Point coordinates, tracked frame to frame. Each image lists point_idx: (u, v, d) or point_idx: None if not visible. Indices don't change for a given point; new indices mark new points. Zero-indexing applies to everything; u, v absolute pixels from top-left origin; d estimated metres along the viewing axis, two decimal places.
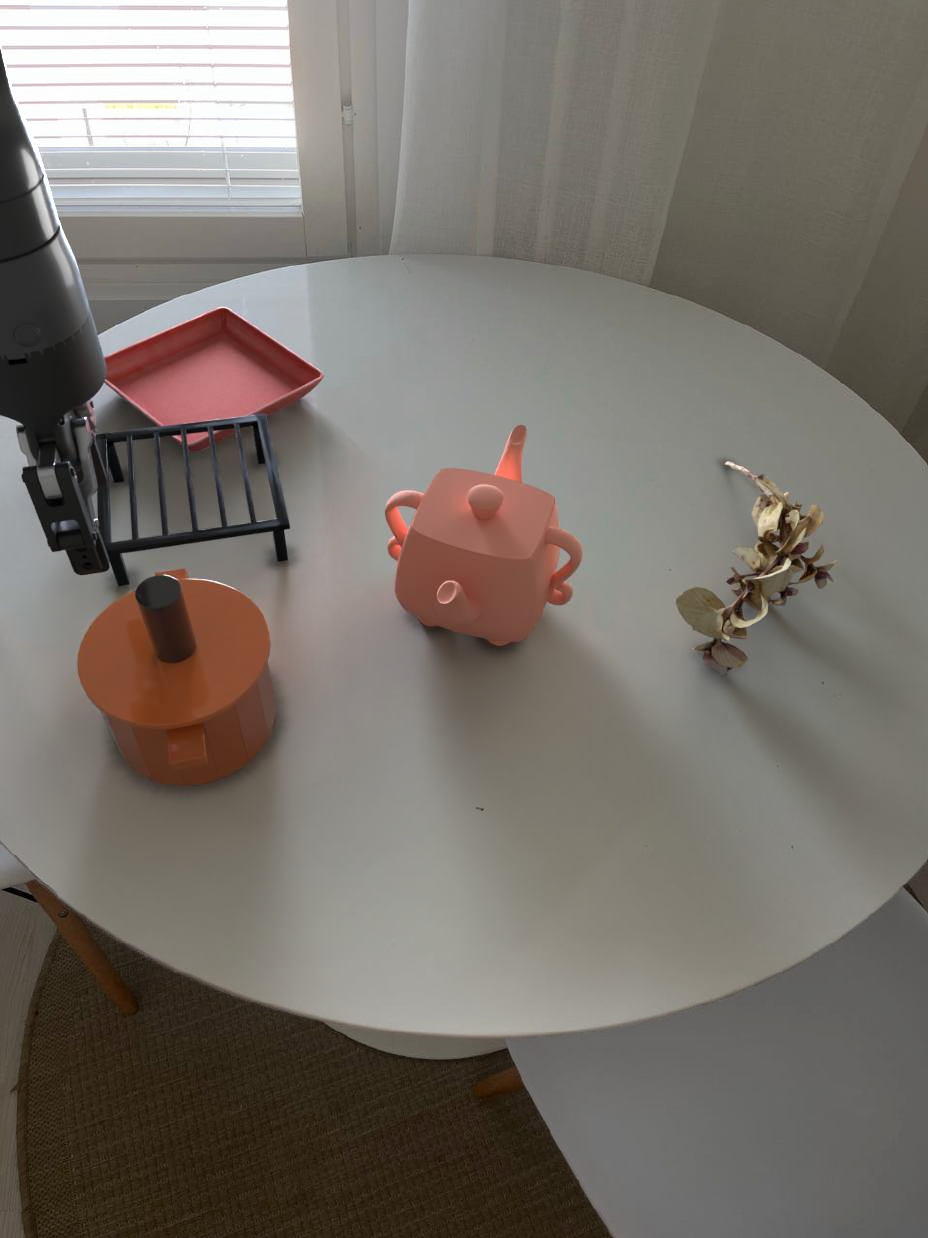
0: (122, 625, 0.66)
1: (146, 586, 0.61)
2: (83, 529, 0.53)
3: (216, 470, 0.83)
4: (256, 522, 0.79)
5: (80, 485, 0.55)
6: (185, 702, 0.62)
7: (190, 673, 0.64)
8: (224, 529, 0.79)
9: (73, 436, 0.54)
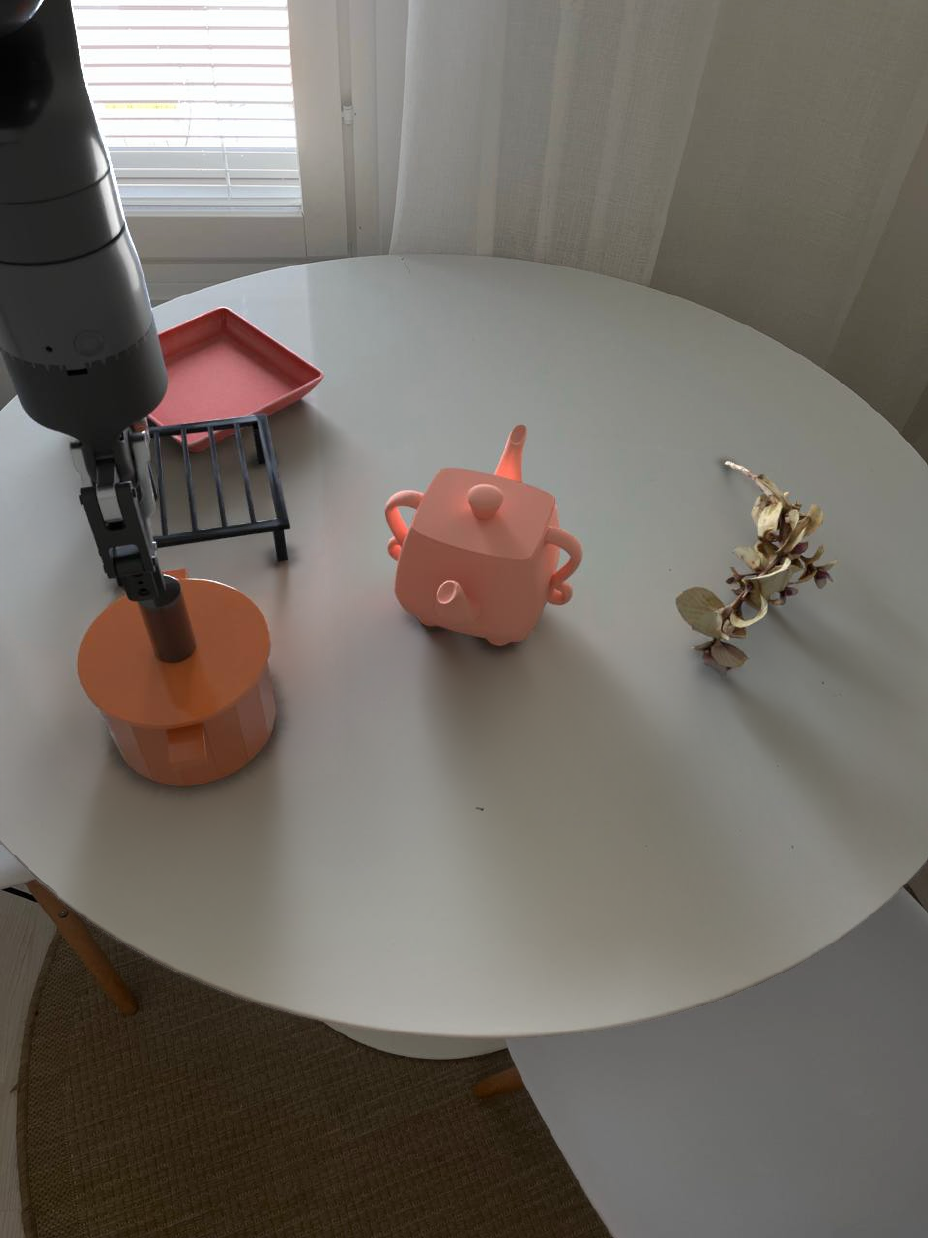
0: (122, 625, 0.66)
1: None
2: (144, 554, 0.48)
3: (216, 470, 0.83)
4: (256, 522, 0.79)
5: (138, 505, 0.50)
6: (185, 702, 0.62)
7: (190, 673, 0.64)
8: (224, 529, 0.79)
9: (131, 452, 0.49)
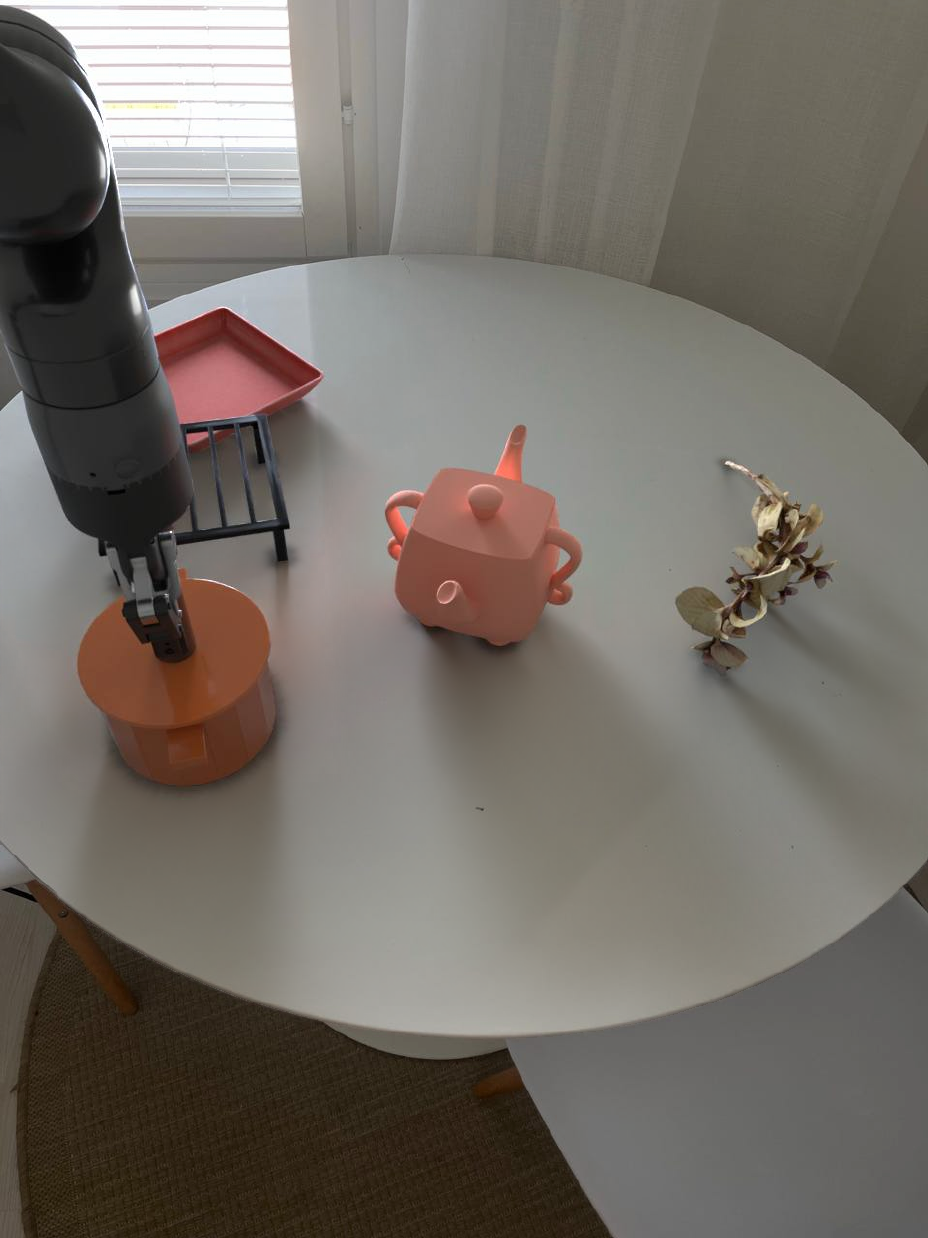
0: (122, 625, 0.66)
1: None
2: (174, 633, 0.57)
3: (216, 470, 0.83)
4: (256, 522, 0.79)
5: (167, 591, 0.57)
6: (185, 702, 0.62)
7: (190, 673, 0.64)
8: (224, 529, 0.79)
9: (160, 551, 0.55)
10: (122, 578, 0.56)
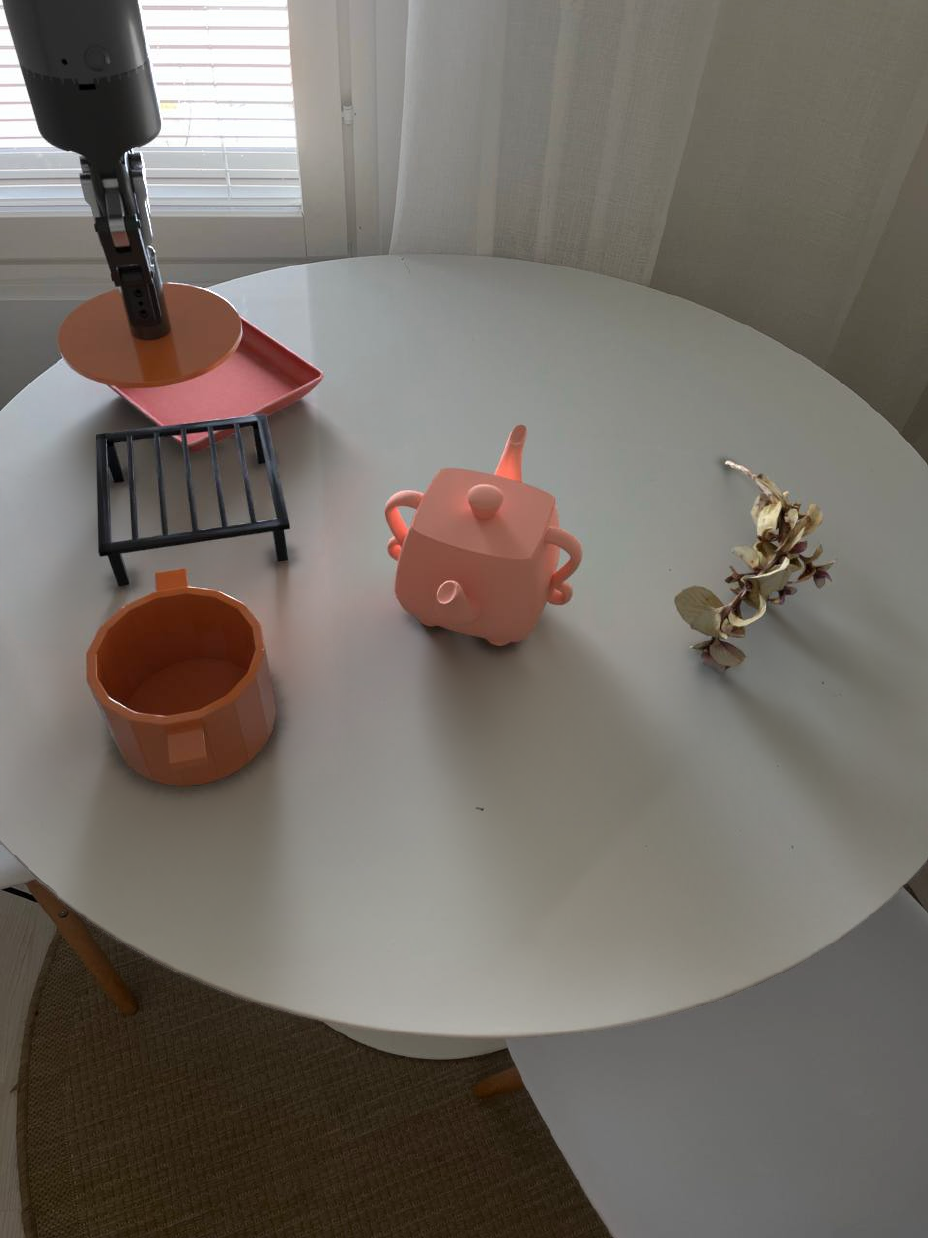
0: (101, 313, 0.69)
1: None
2: (145, 271, 0.60)
3: (216, 470, 0.83)
4: (256, 522, 0.79)
5: None
6: (159, 367, 0.65)
7: (165, 348, 0.67)
8: (224, 529, 0.79)
9: (131, 184, 0.58)
10: (96, 215, 0.59)
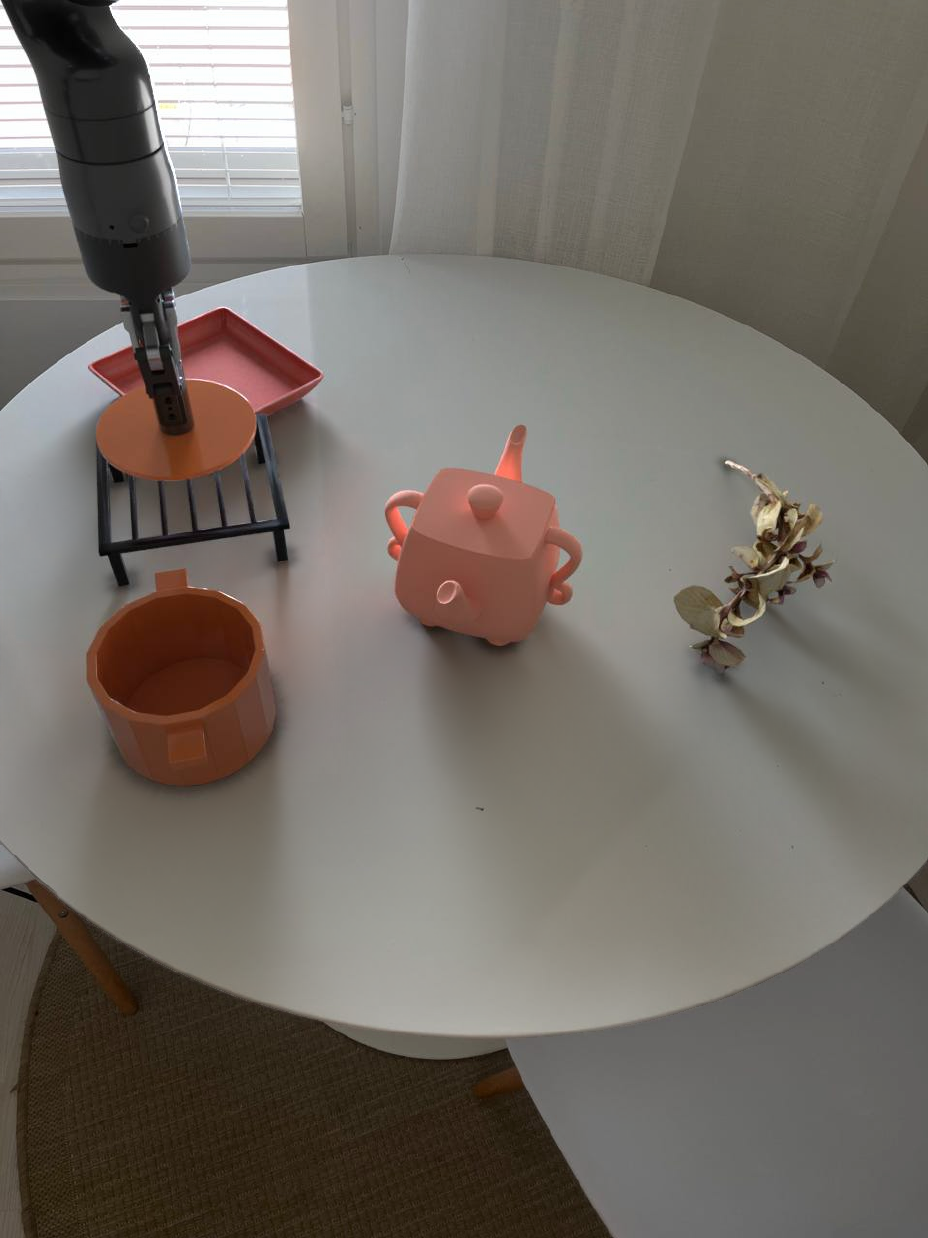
0: (132, 409, 0.79)
1: None
2: (175, 386, 0.70)
3: None
4: (256, 522, 0.79)
5: None
6: (185, 461, 0.75)
7: (190, 443, 0.77)
8: (224, 529, 0.79)
9: (164, 315, 0.68)
10: (133, 339, 0.69)
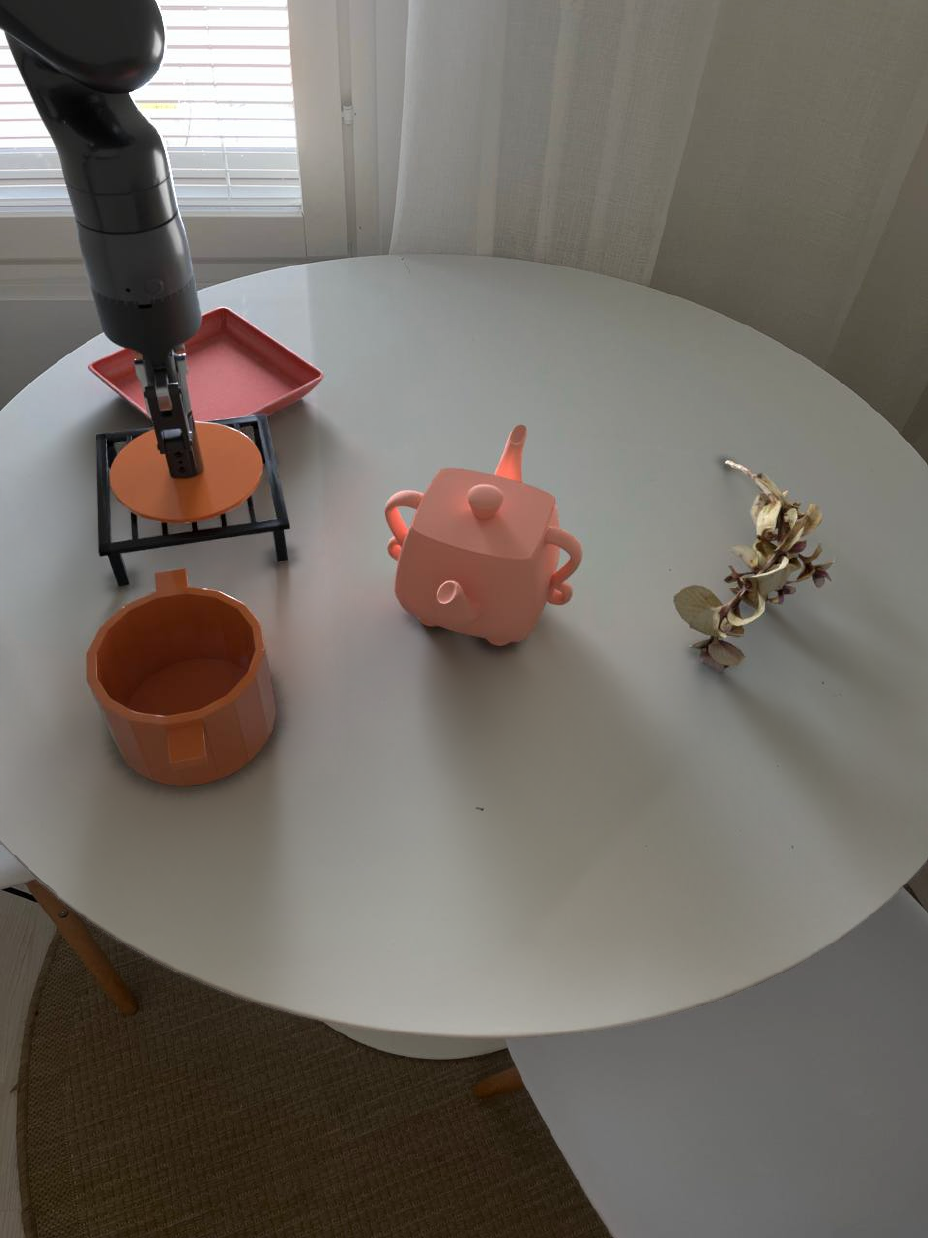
0: (144, 452, 0.83)
1: None
2: (185, 435, 0.71)
3: None
4: (256, 522, 0.79)
5: None
6: (195, 504, 0.79)
7: (199, 485, 0.80)
8: (224, 529, 0.79)
9: (176, 367, 0.72)
10: None
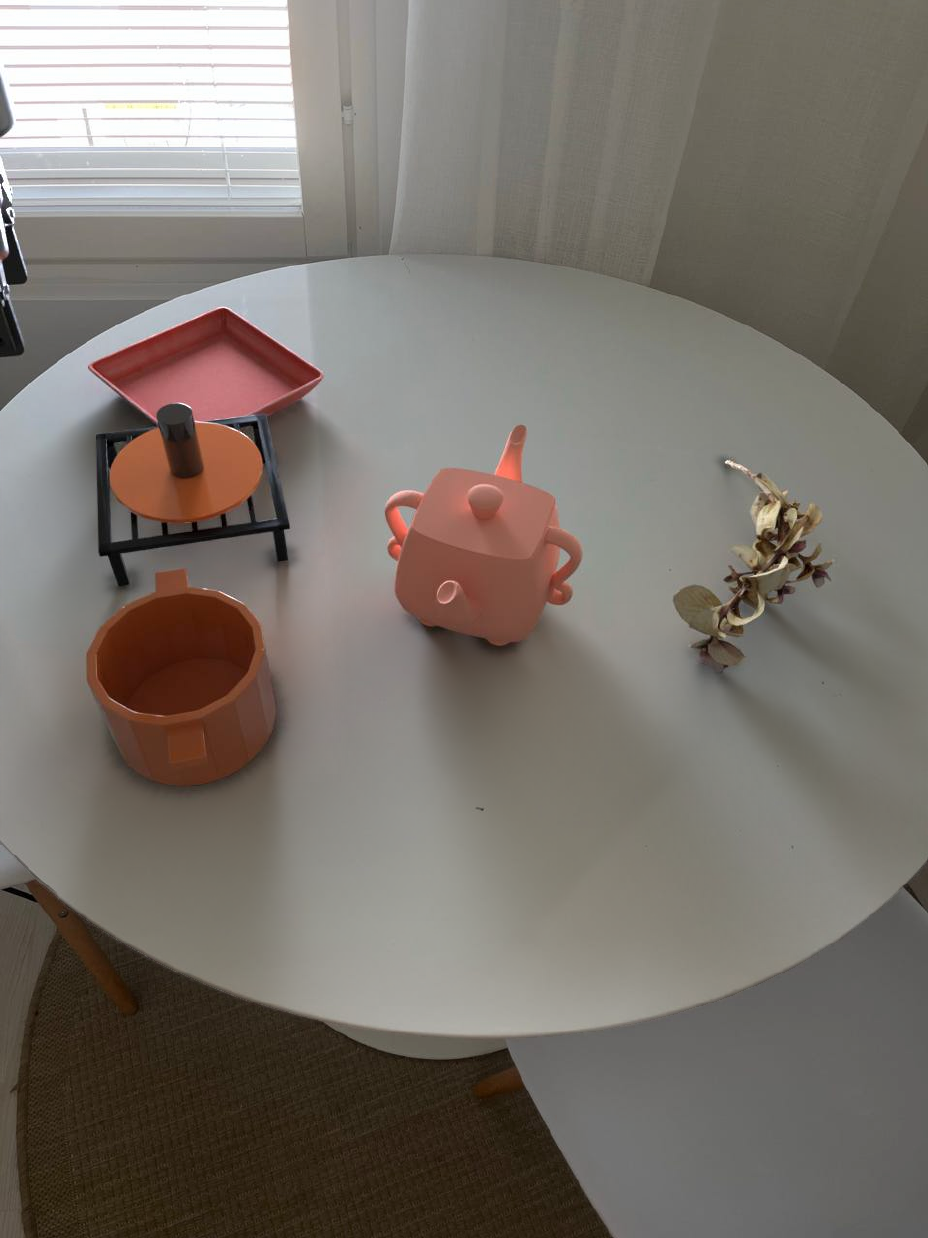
0: (144, 452, 0.83)
1: (165, 410, 0.77)
2: None
3: None
4: (256, 522, 0.79)
5: None
6: (195, 504, 0.79)
7: (199, 485, 0.80)
8: (224, 529, 0.79)
9: None
10: None
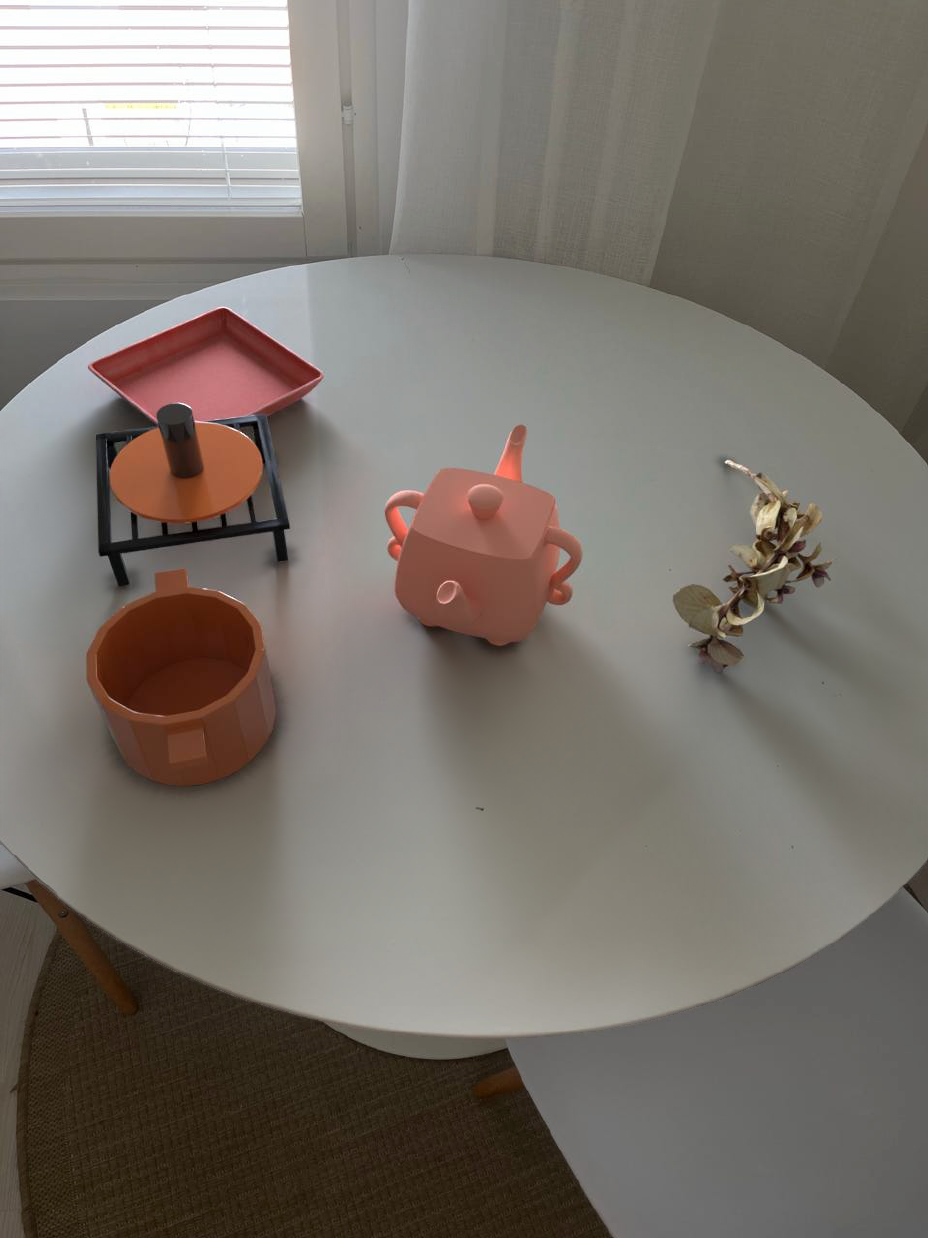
0: (144, 452, 0.83)
1: (165, 410, 0.77)
2: None
3: None
4: (256, 522, 0.79)
5: None
6: (195, 504, 0.79)
7: (199, 485, 0.80)
8: (224, 529, 0.79)
9: None
10: None
